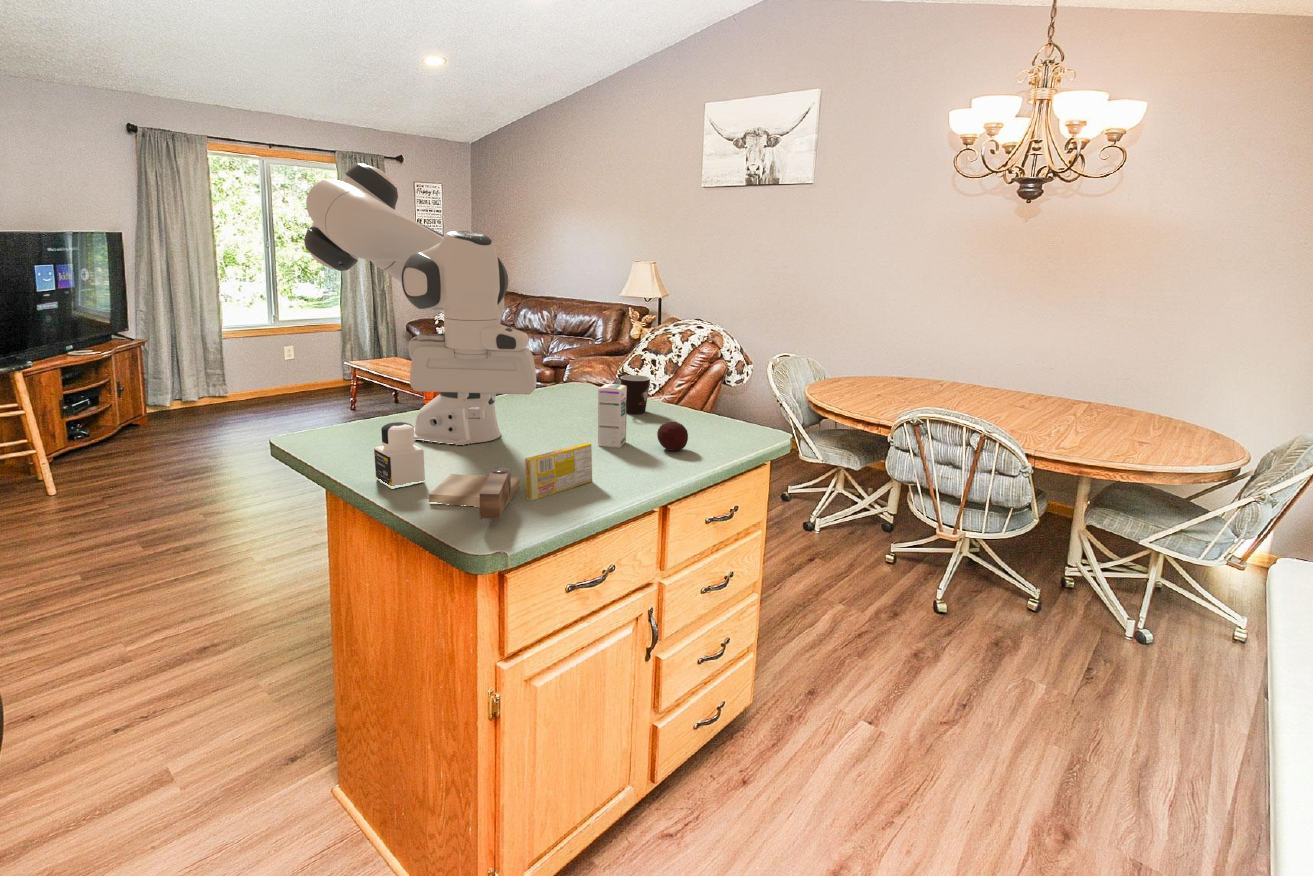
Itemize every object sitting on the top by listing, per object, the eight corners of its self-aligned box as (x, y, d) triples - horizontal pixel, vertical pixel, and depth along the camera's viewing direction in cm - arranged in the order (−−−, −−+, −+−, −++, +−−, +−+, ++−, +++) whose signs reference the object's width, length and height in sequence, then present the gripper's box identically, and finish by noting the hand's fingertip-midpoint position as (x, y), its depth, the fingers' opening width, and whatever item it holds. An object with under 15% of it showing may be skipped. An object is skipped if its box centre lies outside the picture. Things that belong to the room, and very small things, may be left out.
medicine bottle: (375, 481, 147) (371, 423, 144) (409, 474, 152) (406, 418, 149) (391, 490, 142) (387, 430, 139) (425, 483, 147) (423, 425, 144)
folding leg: (492, 490, 138) (492, 467, 137) (512, 490, 138) (511, 468, 137) (479, 518, 124) (478, 493, 123) (500, 519, 124) (499, 494, 123)
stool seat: (429, 504, 136) (428, 494, 135) (451, 483, 147) (450, 473, 147) (503, 509, 135) (503, 498, 134) (519, 487, 146) (519, 478, 146)
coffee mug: (636, 407, 219) (637, 374, 216) (655, 413, 212) (656, 379, 210) (605, 411, 212) (605, 377, 209) (623, 417, 205) (624, 382, 203)
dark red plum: (673, 456, 171) (675, 427, 170) (650, 449, 177) (651, 420, 175) (694, 450, 177) (695, 422, 175) (670, 443, 182) (672, 416, 180)
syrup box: (620, 448, 176) (622, 389, 172) (596, 446, 177) (597, 387, 173) (626, 442, 182) (627, 384, 178) (603, 440, 183) (604, 382, 179)
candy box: (585, 480, 153) (586, 441, 151) (593, 482, 152) (593, 444, 149) (524, 498, 141) (524, 457, 139) (531, 501, 140) (531, 459, 138)
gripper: (401, 336, 115) (406, 421, 119) (532, 340, 116) (533, 424, 120) (413, 330, 121) (417, 412, 125) (537, 335, 122) (538, 415, 126)
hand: (475, 418), depth 122 cm, fingers closed
